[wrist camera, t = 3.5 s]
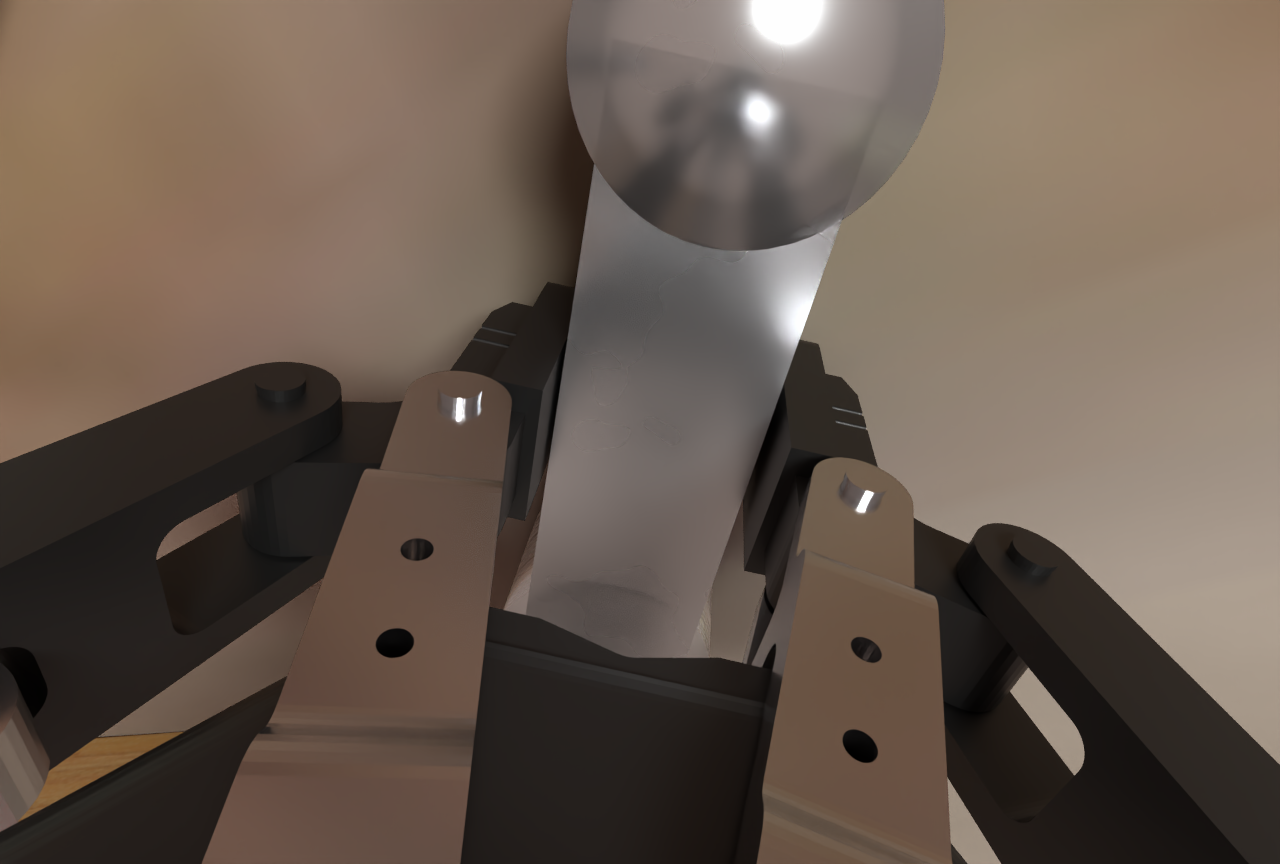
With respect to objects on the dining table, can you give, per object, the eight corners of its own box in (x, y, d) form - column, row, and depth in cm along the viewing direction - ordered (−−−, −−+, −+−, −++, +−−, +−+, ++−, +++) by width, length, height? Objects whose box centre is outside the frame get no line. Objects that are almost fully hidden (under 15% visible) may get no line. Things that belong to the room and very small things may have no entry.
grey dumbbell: (689, 629, 17) (681, 744, 14) (523, 592, 17) (487, 700, 14) (940, -94, 9) (1016, -117, 7) (635, -167, 9) (597, -215, 7)
